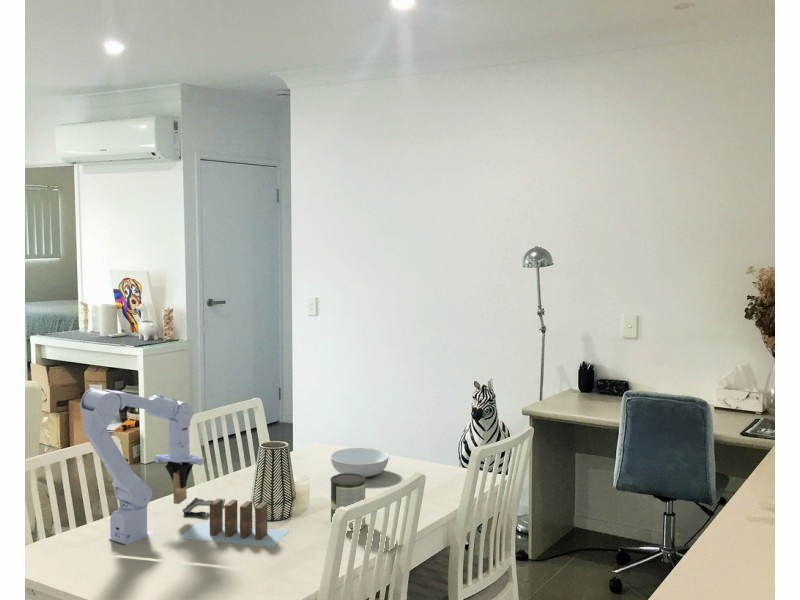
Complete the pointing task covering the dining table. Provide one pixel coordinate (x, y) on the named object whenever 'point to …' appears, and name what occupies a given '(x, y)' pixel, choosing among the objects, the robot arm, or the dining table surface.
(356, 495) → the coffee can
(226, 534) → the domino
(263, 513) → the domino
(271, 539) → the board
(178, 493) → the oak domino
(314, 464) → the dining table surface
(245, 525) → the domino
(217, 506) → the domino
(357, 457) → the serving bowl
